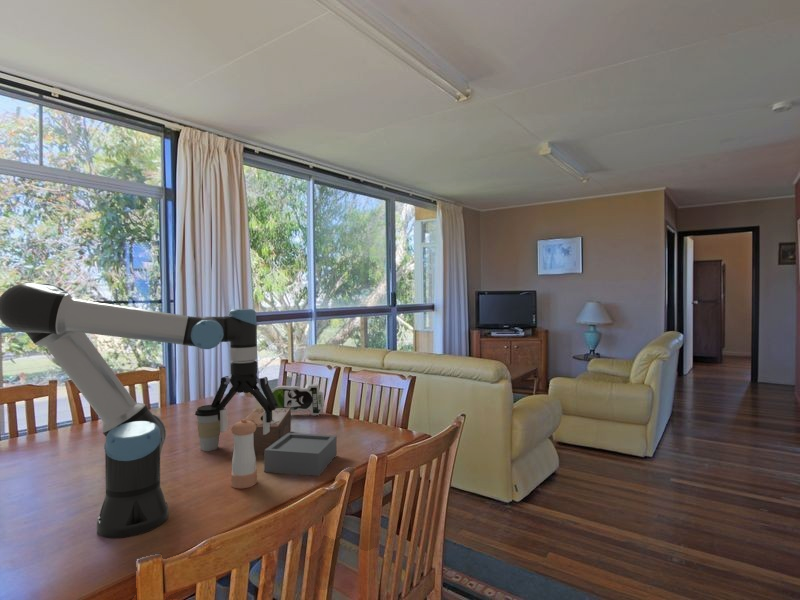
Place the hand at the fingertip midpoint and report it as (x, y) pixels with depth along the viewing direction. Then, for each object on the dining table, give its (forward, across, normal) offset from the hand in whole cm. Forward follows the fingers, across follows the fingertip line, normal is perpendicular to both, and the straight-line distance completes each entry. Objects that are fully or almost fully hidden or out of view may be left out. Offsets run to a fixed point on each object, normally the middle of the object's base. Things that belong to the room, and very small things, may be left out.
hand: (245, 432), depth 134 cm
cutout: (+16, +15, -74) cm, 77 cm away
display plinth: (+15, -11, -18) cm, 26 cm away
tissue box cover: (+16, +11, -36) cm, 41 cm away
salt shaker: (+15, 0, 0) cm, 15 cm away
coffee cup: (+15, +28, -26) cm, 41 cm away
